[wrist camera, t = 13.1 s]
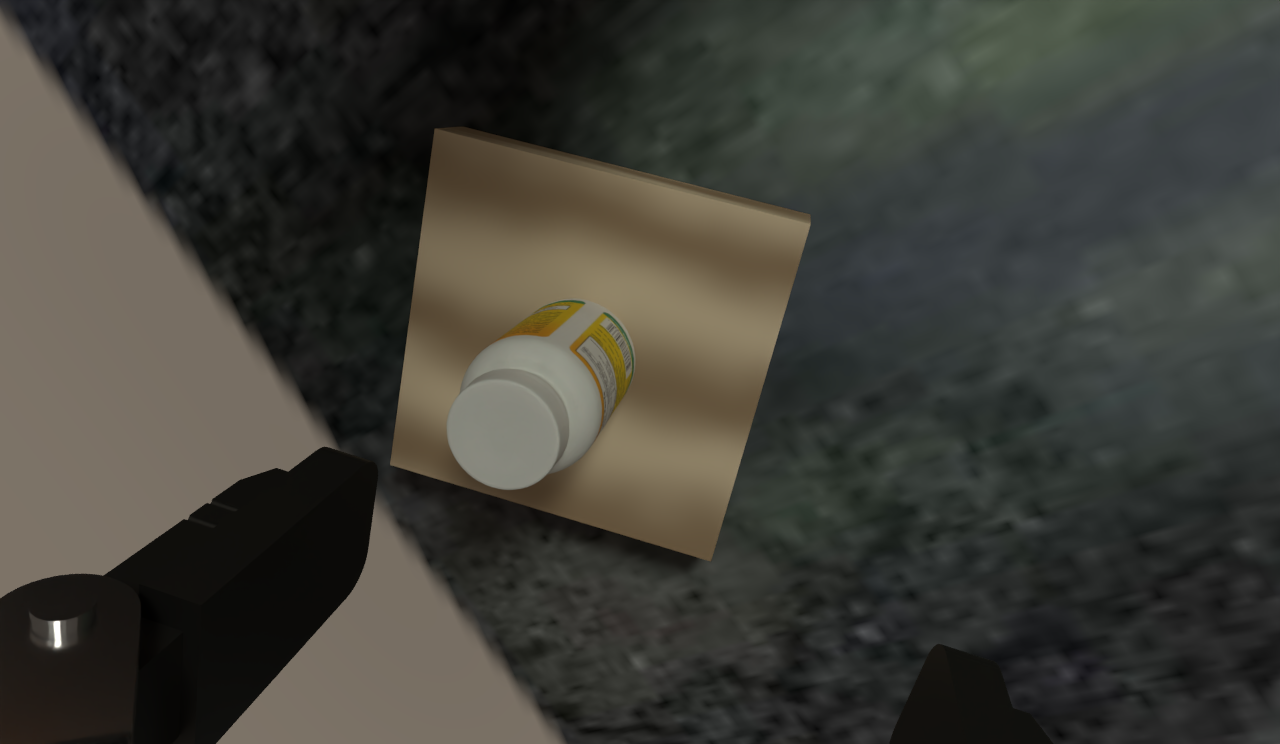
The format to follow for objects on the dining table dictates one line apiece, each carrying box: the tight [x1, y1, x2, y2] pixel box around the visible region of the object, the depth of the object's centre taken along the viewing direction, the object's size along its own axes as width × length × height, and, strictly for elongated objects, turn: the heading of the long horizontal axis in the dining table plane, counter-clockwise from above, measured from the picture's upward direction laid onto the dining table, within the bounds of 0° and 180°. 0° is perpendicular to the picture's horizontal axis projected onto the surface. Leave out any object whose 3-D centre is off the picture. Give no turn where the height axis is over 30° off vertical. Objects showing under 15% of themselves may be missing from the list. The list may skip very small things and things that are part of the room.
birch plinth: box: [390, 126, 811, 561], centre depth 38 cm, size 16×16×3 cm
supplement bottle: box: [447, 298, 635, 490], centre depth 32 cm, size 5×5×10 cm
